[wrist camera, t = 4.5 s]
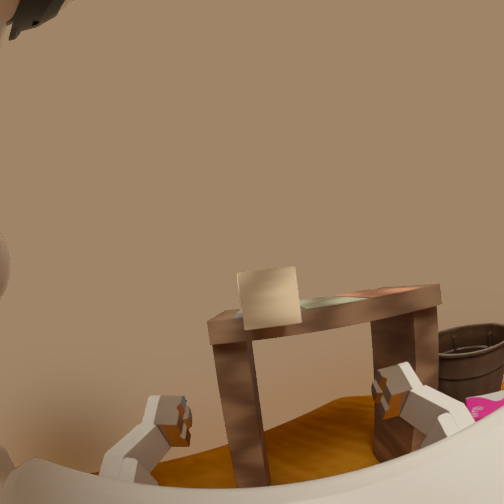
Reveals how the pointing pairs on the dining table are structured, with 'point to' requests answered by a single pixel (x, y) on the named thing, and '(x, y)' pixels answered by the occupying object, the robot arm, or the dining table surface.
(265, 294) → the marker stick
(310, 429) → the dining table surface
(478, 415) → the supplement box
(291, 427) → the dining table surface
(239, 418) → the shelf
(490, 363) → the plant pot
